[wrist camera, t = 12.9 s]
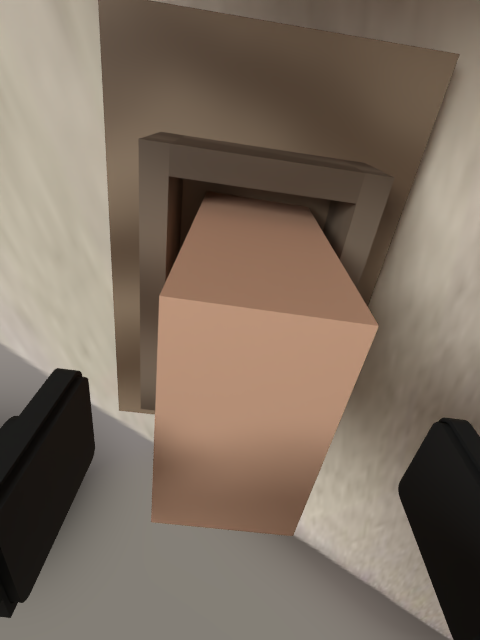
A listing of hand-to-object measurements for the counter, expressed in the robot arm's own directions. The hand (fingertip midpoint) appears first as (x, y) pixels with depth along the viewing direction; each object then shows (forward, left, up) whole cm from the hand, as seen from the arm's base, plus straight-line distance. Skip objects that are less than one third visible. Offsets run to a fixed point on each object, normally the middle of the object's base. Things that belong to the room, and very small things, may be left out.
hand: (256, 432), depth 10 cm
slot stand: (0, 0, -11) cm, 11 cm away
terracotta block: (0, 0, -9) cm, 9 cm away
